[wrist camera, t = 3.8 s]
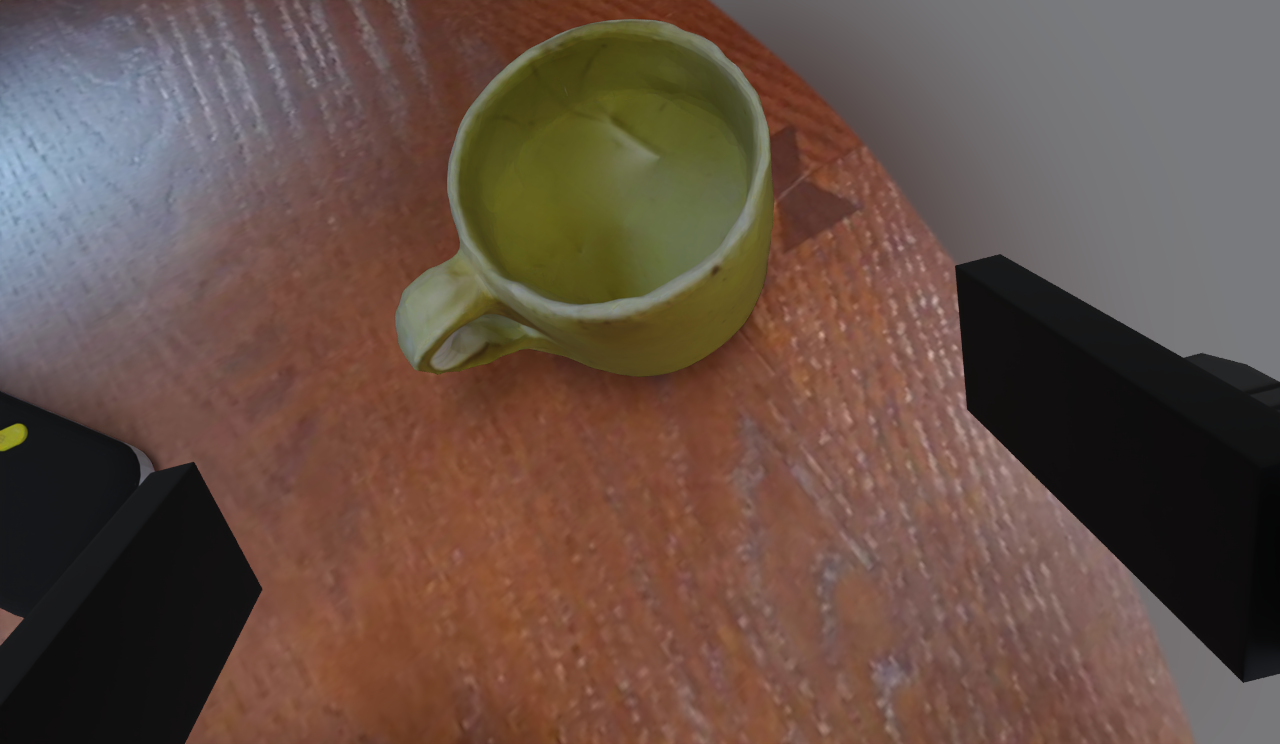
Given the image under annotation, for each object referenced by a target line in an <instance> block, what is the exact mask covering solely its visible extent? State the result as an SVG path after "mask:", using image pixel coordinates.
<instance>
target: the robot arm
mask: <svg viewBox="0 0 1280 744" xmlns="http://www.w3.org/2000/svg"><path fill="white" fill-rule="evenodd" d="M955 270H956V282H957V294H958V306H959V317H960V329H961V341H962V353H963V365H964V377H965V389H966V401H967V410H968V411H969V412H970V413H971V414H972V415H973V416H974V417H975V418H976V419H977V420H978V421H979V422H980V423H981V424H982V425H983V426H984V427H986V428H987V429H988V430H989V431H990V432H991V433H992V434H993V435H994V436H995V437H996V438H997V439H998V440H999V441H1000V442H1001V443H1002V444H1003V445H1004V446H1005V447H1006V448H1007V449H1008V450H1009V451H1010V452H1011V453H1012V454H1013V455H1014V456H1015V457H1016V458H1017V459H1018V460H1019V461H1020V462H1021V463H1022V464H1023V465H1024V466H1025V467H1026V468H1027V469H1028V470H1029V471H1030V472H1031V473H1032V474H1033V475H1034V476H1035V477H1036V478H1037V479H1038V480H1039V481H1040V482H1041V483H1042V484H1043V485H1044V486H1045V487H1046V488H1047V489H1048V490H1049V491H1050V492H1051V493H1052V494H1053V495H1054V496H1055V497H1056V498H1057V499H1058V500H1059V501H1060V502H1061V503H1062V504H1063V505H1064V506H1065V507H1066V508H1067V509H1068V510H1069V511H1070V512H1071V513H1072V514H1073V515H1074V516H1075V517H1076V518H1077V519H1078V520H1079V521H1080V522H1081V523H1082V524H1083V525H1084V526H1085V527H1086V528H1088V529H1089V530H1090V531H1091V532H1092V533H1093V534H1094V535H1095V536H1096V537H1097V538H1098V539H1099V540H1100V541H1101V542H1102V543H1103V544H1104V545H1105V546H1106V547H1107V548H1108V549H1109V550H1110V551H1111V552H1112V553H1113V554H1114V555H1115V556H1116V557H1117V558H1118V559H1119V560H1120V561H1121V562H1122V563H1123V564H1124V565H1125V566H1126V567H1127V568H1128V569H1129V570H1130V571H1131V572H1132V573H1133V574H1134V575H1135V576H1136V577H1137V578H1138V579H1139V580H1140V581H1141V582H1142V583H1143V584H1144V585H1145V586H1146V587H1147V588H1148V589H1149V590H1150V591H1151V592H1152V593H1153V594H1154V595H1155V596H1156V597H1157V598H1158V599H1159V600H1160V601H1161V602H1162V603H1163V604H1164V605H1165V606H1166V607H1167V608H1168V609H1169V610H1171V612H1172V613H1173V614H1174V615H1175V616H1176V617H1177V618H1178V619H1179V620H1180V621H1182V623H1183V624H1184V625H1185V626H1187V627H1188V629H1189V630H1191V631H1192V632H1193V633H1194V634H1195V635H1196V636H1197V637H1198V638H1199V639H1200V640H1201V641H1202V642H1203V643H1204V644H1205V645H1206V646H1207V647H1208V648H1209V649H1210V650H1211V651H1212V652H1213V653H1214V654H1215V655H1216V656H1217V657H1218V658H1219V659H1220V660H1221V661H1222V662H1223V663H1224V664H1225V665H1226V666H1227V667H1228V668H1229V669H1230V670H1231V671H1232V672H1233V673H1234V674H1235V675H1236V676H1237V677H1238V678H1239V679H1240V680H1241V681H1242V682H1243V683H1244V682H1248V681H1252V680H1256V679H1260V678H1264V677H1268V676H1272V675H1276V674H1280V382H1279V381H1276V380H1275V379H1273V378H1271V377H1269V376H1267V375H1265V374H1263V373H1261V372H1260V371H1258V370H1256V369H1254V368H1252V367H1250V366H1248V365H1246V364H1242V363H1238V362H1235V361H1231V360H1227V359H1223V358H1219V357H1215V356H1211V355H1207V354H1203V353H1200V354H1197V355H1193V356H1189V357H1185V358H1183V357H1181V356H1179V355H1177V354H1176V353H1174V352H1172V351H1170V350H1169V349H1167V348H1165V347H1163V346H1161V345H1160V344H1158V343H1156V342H1154V341H1153V340H1151V339H1149V338H1147V337H1146V336H1144V335H1142V334H1140V333H1138V332H1137V331H1135V330H1133V329H1131V328H1130V327H1128V326H1126V325H1124V324H1123V323H1121V322H1119V321H1117V320H1115V319H1114V318H1112V317H1110V316H1109V315H1106V314H1105V313H1103V312H1101V311H1100V310H1098V309H1096V308H1094V307H1093V306H1091V305H1089V304H1087V303H1085V302H1084V301H1082V300H1080V299H1078V298H1077V297H1075V296H1073V295H1071V294H1070V293H1068V292H1066V291H1064V290H1063V289H1061V288H1059V287H1057V286H1056V285H1053V284H1052V283H1050V282H1048V281H1047V280H1045V279H1043V278H1041V277H1040V276H1038V275H1036V274H1034V273H1032V272H1031V271H1029V270H1027V269H1025V268H1024V267H1022V266H1020V265H1018V264H1017V263H1015V262H1013V261H1011V260H1009V259H1008V258H1006V257H1004V256H1002V255H1001V254H999V255H995V256H991V257H987V258H983V259H980V260H976V261H972V262H968V263H964V264H960V265H956V266H955ZM261 591H262V587H261V586H260V584H259V582H258V580H257V578H256V576H255V574H254V573H253V571H252V569H251V567H250V565H249V563H248V561H247V559H246V558H245V556H244V554H243V552H242V550H241V548H240V546H239V545H238V543H237V541H236V539H235V537H234V535H233V533H232V532H231V530H230V528H229V526H228V524H227V522H226V520H225V519H224V517H223V515H222V513H221V511H220V509H219V507H218V506H217V504H216V502H215V500H214V498H213V496H212V494H211V493H210V491H209V489H208V487H207V485H206V483H205V481H204V480H203V478H202V476H201V474H200V472H199V470H198V468H197V466H196V465H195V463H194V462H191V463H187V464H183V465H179V466H176V467H172V468H168V469H164V470H160V471H156V472H152V473H150V474H149V475H148V476H147V477H146V478H145V480H144V481H143V482H142V483H141V484H140V485H139V486H138V488H137V489H136V490H135V491H134V492H133V493H132V495H131V496H130V497H129V498H128V499H127V500H126V502H125V503H124V504H123V505H122V506H121V507H120V508H119V510H118V511H117V512H116V513H115V514H114V515H113V517H112V518H111V519H110V520H109V521H108V522H107V523H106V525H105V526H104V527H103V528H102V529H101V530H100V532H99V533H98V534H97V535H96V536H95V537H94V538H93V540H92V541H91V542H90V543H89V544H88V545H87V547H86V548H85V549H84V550H83V551H82V552H81V553H80V555H79V556H78V557H77V558H76V559H75V560H74V562H73V563H72V564H71V565H70V566H69V567H68V568H67V570H66V571H65V572H64V573H63V574H62V575H61V577H60V578H59V579H58V580H57V581H56V582H55V583H54V585H53V586H52V587H51V588H50V589H49V590H48V592H47V593H46V594H45V595H44V596H43V597H42V599H41V600H40V601H39V602H38V603H37V604H36V605H35V607H34V608H33V609H32V610H31V611H30V612H29V614H28V615H27V616H26V617H25V618H24V619H23V620H22V622H21V623H20V624H19V625H18V626H17V627H16V629H15V630H14V631H13V632H12V633H11V634H10V635H9V637H8V638H7V639H6V640H5V641H4V642H3V644H2V645H1V646H0V744H185V742H186V740H187V738H188V736H189V734H190V732H191V730H192V728H193V726H194V724H195V722H196V720H197V718H198V716H199V714H200V712H201V710H202V708H203V706H204V704H205V702H206V700H207V698H208V696H209V694H210V693H211V691H212V689H213V687H214V685H215V683H216V681H217V679H218V677H219V675H220V673H221V671H222V669H223V667H224V665H225V663H226V661H227V659H228V657H229V655H230V653H231V651H232V649H233V647H234V645H235V643H236V641H237V639H238V637H239V635H240V633H241V631H242V629H243V627H244V625H245V623H246V621H247V619H248V617H249V615H250V613H251V611H252V609H253V607H254V605H255V603H256V601H257V599H258V597H259V595H260V593H261Z"/></svg>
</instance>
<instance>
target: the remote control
mask: <svg viewBox="0 0 1280 744" xmlns="http://www.w3.org/2000/svg"><path fill="white" fill-rule="evenodd" d="M152 472H155V470H154V468H153V465H152V463H151V461H150V459H149V458H148V457H147V456H146V455H145V453H144V452H142V451H140V450H139V449H137V448H135V447H134V446H132V445H129V444H127V443H125V442H122V441H120V440H117V439H115V438H113V437H110V436H108V435H105V434H103V433H101V432H98V431H96V430H93V429H91V428H89V427H86V426H84V425H81V424H79V423H77V422H74V421H72V420H69V419H67V418H65V417H62V416H60V415H57V414H55V413H53V412H50V411H48V410H45V409H43V408H41V407H38V406H36V405H33V404H31V403H29V402H26V401H24V400H21V399H19V398H17V397H14V396H12V395H9V394H7V393H5V392H2V391H0V608H2V609H4V610H6V611H8V612H10V613H12V614H14V615H17V616H20V617H23V618H25V617H26V616H27V615H28V614H29V612H30V611H31V610H32V609H33V608H34V607H35V605H36V604H37V603H38V602H39V601H40V600H41V599H42V597H43V596H44V595H45V594H46V593H47V592H48V590H49V589H50V588H51V587H52V586H53V585H54V583H55V582H56V581H57V580H58V579H59V578H60V577H61V575H62V574H63V573H64V572H65V571H66V570H67V568H68V567H69V566H70V565H71V564H72V563H73V562H74V560H75V559H76V558H77V557H78V556H79V555H80V553H81V552H82V551H83V550H84V549H85V548H86V547H87V545H88V544H89V543H90V542H91V541H92V540H93V538H94V537H95V536H96V535H97V534H98V533H99V532H100V530H101V529H102V528H103V527H104V526H105V525H106V523H107V522H108V521H109V520H110V519H111V518H112V517H113V515H114V514H115V513H116V512H117V511H118V510H119V508H120V507H121V506H122V505H123V504H124V503H125V502H126V500H127V499H128V498H129V497H130V496H131V495H132V493H133V492H134V491H135V490H136V489H137V488H138V486H139V485H140V484H141V483H142V482H143V481H144V480H145V478H146V477H147V476H148V475H149V474H150V473H152Z"/></svg>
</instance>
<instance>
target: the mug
mask: <svg viewBox="0 0 1280 744" xmlns="http://www.w3.org/2000/svg"><path fill="white" fill-rule="evenodd" d="M447 190H448V196H449V201H450V207H451V212H452V216H453V219H454V223H455V226H456V228H457V231H458V235H459V240H460V249H459V251H458V252H457V254H456V255H455V256H454V257H453V258H451V259H450V260H448V261H446V262H444V263H442V264H441V265H439V266H436V267H433V268H430V269H428V270H427V271H425V272H424V273H423V274H422V275H420V276H419V277H418V278H417V279H416V280H415V281H413V282H412V283H411V284H410V285H409V286H408V287H407V288H406V289H405V290H404V291H403V293H402V296H401V300H400V304H399V307H398V308H397V310H396V313H395V322H396V331H397V335H398V344H399V346H400V348H401V350H402V352H403V354H404V355H405V357H406V358H407V360H408V361H409V363H410V364H411V365H412V367H413V368H414V369H415V370H418V371H424V372H430V373H435V374H437V375H438V374H441V373H445V372H453V371H459V372H460V371H461V370H465V369H468V368H471V367H475V366H479V365H483V364H489V363H491V362H492V361H494V360H496V359H498V358H499V357H501V356H504V355H508V354H511V353H514V352H516V351H518V350H523V349H533V350H537V351H542V352H547V353H551V354H556V355H561V356H565V357H568V358H570V359H573V360H575V361H577V362H580V363H582V364H584V365H586V366H589V367H591V368H595V369H600V370H604V371H608V372H612V373H616V374H620V375H628V376H637V377H644V376H656V375H662V374H667V373H671V372H674V371H677V370H680V369H683V368H686V367H688V366H690V365H692V364H694V363H696V362H698V361H700V360H702V359H703V358H705V357H706V356H707V355H709V354H710V353H712V352H713V351H715V350H716V349H718V348H719V347H721V346H722V345H723V344H724V343H725V342H726V341H727V340H729V339H730V338H731V337H732V336H733V335H734V334H735V333H736V332H737V331H738V330H739V329H740V328H741V327H742V326H743V324H744V323H745V322H746V320H747V319H748V317H749V316H750V314H751V312H752V310H753V308H754V306H755V304H756V302H757V300H758V297H759V295H760V293H761V290H762V288H763V285H764V281H765V277H766V273H767V265H768V255H769V249H770V241H771V231H772V227H773V210H774V193H773V183H772V174H771V152H770V136H769V127H768V125H767V122H766V119H765V116H764V113H763V109H762V104H761V101H760V98H759V96H758V94H757V92H756V91H755V89H754V88H753V87H752V86H751V84H750V83H749V82H748V80H747V79H746V77H745V76H744V74H743V73H742V71H741V70H740V69H739V67H737V66H736V65H735V64H733V63H732V62H731V61H730V60H729V59H728V58H727V57H725V55H724V54H723V53H722V51H721V50H720V49H719V48H718V47H717V46H716V45H715V44H714V43H712V42H711V41H709V40H707V39H706V38H704V37H702V36H699V35H697V34H693V33H690V32H686V31H683V30H681V29H680V28H678V27H676V26H675V25H673V24H669V23H666V22H662V21H655V20H637V19H628V20H610V21H603V22H597V23H591V24H587V25H584V26H580V27H577V28H574V29H570V30H568V31H565V32H563V33H560V34H558V35H556V36H554V37H552V38H550V39H548V40H546V41H545V42H543V43H540V44H538V45H536V46H534V47H532V48H530V49H529V50H527V51H526V52H524V53H523V54H522V55H521V56H519V57H518V58H517V59H515V60H514V61H513V62H511V63H510V64H509V65H508V66H507V67H506V68H505V69H504V70H503V71H501V72H500V73H499V74H498V75H497V76H496V77H495V78H494V79H493V80H492V81H491V82H490V83H489V84H488V85H487V87H486V88H485V89H484V90H483V92H482V93H481V94H480V95H479V96H478V98H477V99H476V100H475V101H474V102H473V104H472V105H471V106H470V108H469V109H468V111H467V113H466V115H465V116H464V118H463V120H462V122H461V124H460V126H459V129H458V132H457V135H456V138H455V142H454V145H453V148H452V152H451V155H450V158H449V165H448V176H447Z"/></svg>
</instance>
